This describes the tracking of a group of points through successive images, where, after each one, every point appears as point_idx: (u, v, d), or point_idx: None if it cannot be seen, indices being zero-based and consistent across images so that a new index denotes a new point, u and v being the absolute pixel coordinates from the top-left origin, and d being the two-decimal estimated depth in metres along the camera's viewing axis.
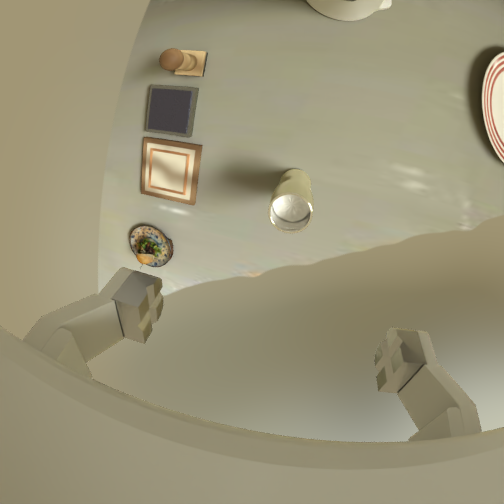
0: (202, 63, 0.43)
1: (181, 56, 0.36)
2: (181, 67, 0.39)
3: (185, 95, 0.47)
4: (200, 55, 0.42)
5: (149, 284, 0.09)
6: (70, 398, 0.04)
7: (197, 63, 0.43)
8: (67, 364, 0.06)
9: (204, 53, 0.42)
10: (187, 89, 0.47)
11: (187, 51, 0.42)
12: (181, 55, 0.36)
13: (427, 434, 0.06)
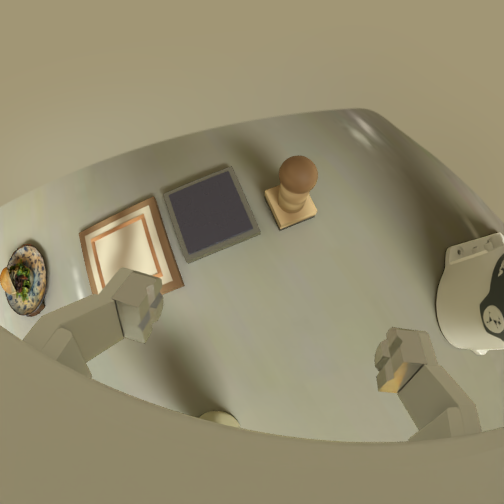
0: (298, 219, 0.36)
1: (311, 186, 0.28)
2: (289, 195, 0.30)
3: (242, 222, 0.36)
4: (309, 210, 0.35)
5: (149, 285, 0.09)
6: (70, 398, 0.04)
7: (296, 213, 0.35)
8: (67, 364, 0.06)
9: (313, 213, 0.36)
10: (252, 220, 0.36)
11: None
12: (313, 186, 0.28)
13: (427, 434, 0.06)
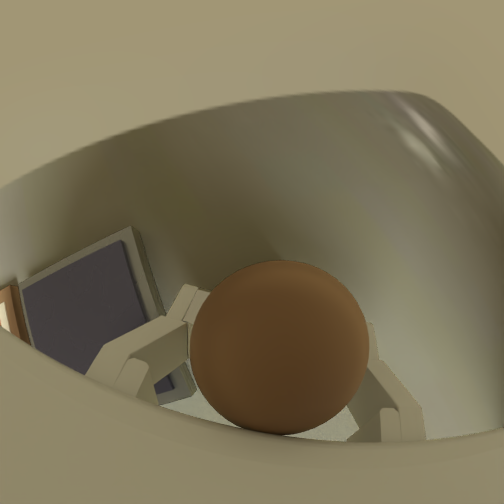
0: None
1: None
2: None
3: None
4: None
5: None
6: (70, 398, 0.04)
7: None
8: (143, 398, 0.06)
9: None
10: None
11: None
12: None
13: (361, 436, 0.06)
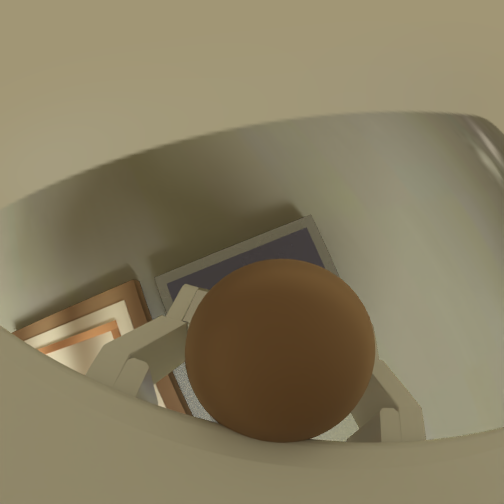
0: None
1: None
2: None
3: None
4: None
5: None
6: (70, 398, 0.04)
7: None
8: (143, 397, 0.06)
9: None
10: None
11: None
12: None
13: (361, 436, 0.06)
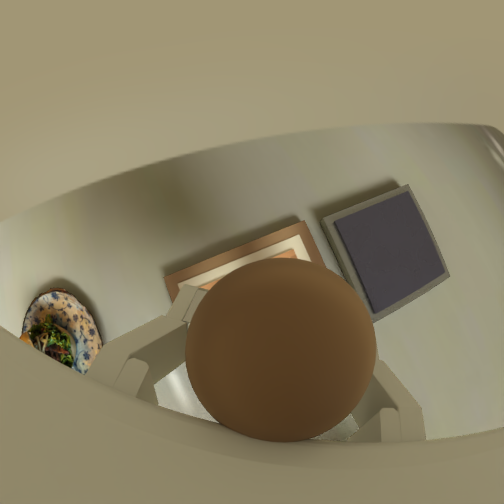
0: None
1: None
2: None
3: (435, 265, 0.23)
4: None
5: None
6: (70, 398, 0.04)
7: None
8: (143, 397, 0.06)
9: None
10: (441, 261, 0.23)
11: None
12: None
13: (361, 436, 0.06)
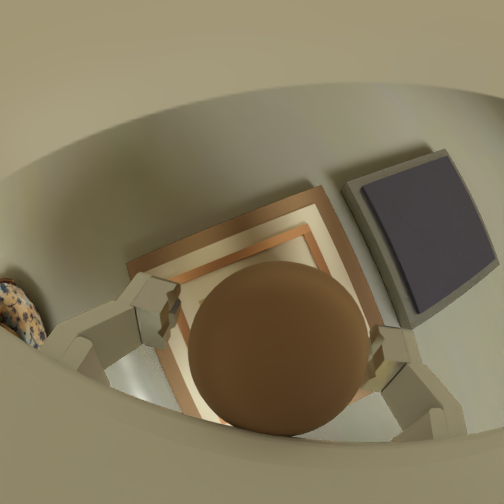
0: None
1: None
2: None
3: (484, 250, 0.15)
4: None
5: (169, 290, 0.09)
6: (70, 398, 0.04)
7: None
8: (87, 374, 0.06)
9: None
10: None
11: None
12: None
13: (409, 435, 0.06)
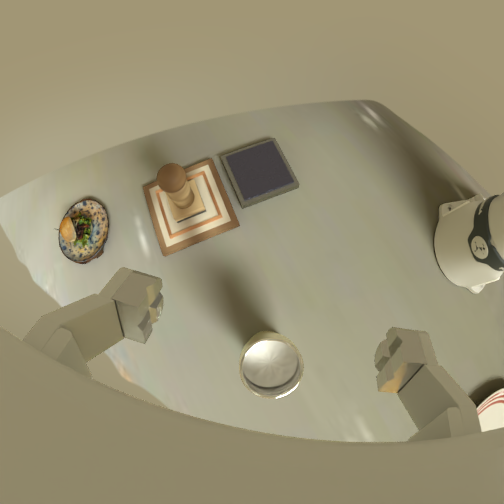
0: (188, 213, 0.43)
1: (178, 186, 0.36)
2: (169, 194, 0.38)
3: (286, 177, 0.46)
4: (197, 206, 0.43)
5: (149, 284, 0.09)
6: (70, 398, 0.04)
7: (186, 208, 0.43)
8: (67, 364, 0.06)
9: (202, 208, 0.44)
10: (292, 176, 0.46)
11: (196, 189, 0.44)
12: (179, 186, 0.36)
13: (427, 434, 0.06)
